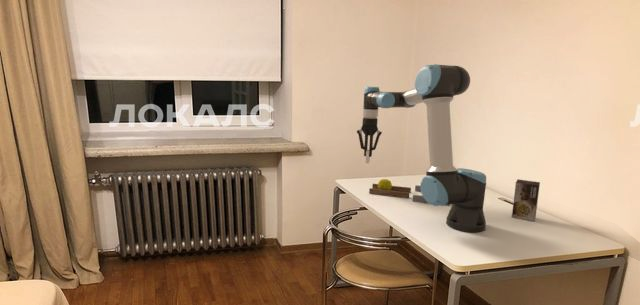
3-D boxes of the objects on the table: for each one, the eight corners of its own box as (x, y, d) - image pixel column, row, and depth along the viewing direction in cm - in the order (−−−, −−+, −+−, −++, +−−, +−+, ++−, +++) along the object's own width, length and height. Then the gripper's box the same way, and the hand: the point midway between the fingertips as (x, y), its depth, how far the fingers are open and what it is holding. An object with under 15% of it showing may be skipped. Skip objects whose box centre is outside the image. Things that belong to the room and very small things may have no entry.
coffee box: (535, 217, 171) (540, 182, 167) (534, 221, 165) (539, 185, 162) (512, 213, 175) (517, 178, 172) (511, 217, 170) (515, 181, 167)
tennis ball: (393, 193, 200) (394, 180, 199) (383, 195, 197) (384, 181, 195) (384, 189, 206) (385, 176, 205) (374, 191, 203) (375, 178, 201)
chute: (408, 198, 193) (409, 193, 192) (369, 193, 198) (369, 188, 198) (410, 192, 203) (411, 187, 202) (372, 188, 209) (372, 183, 208)
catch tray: (449, 205, 183) (449, 199, 183) (412, 201, 188) (412, 195, 188) (448, 194, 201) (449, 188, 201) (415, 190, 206) (415, 185, 206)
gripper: (384, 117, 198) (381, 162, 203) (359, 115, 202) (356, 159, 207) (381, 119, 191) (378, 165, 196) (356, 117, 195) (353, 162, 200)
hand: (367, 162), depth 202 cm, fingers closed
